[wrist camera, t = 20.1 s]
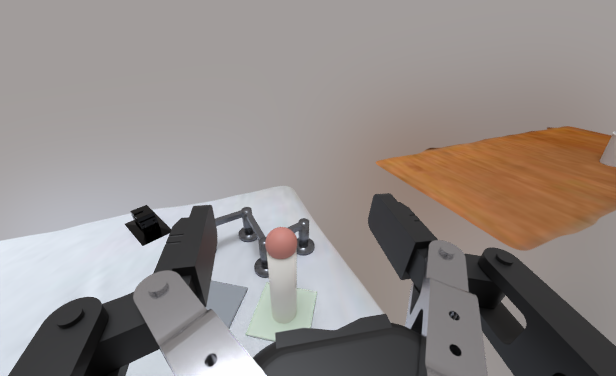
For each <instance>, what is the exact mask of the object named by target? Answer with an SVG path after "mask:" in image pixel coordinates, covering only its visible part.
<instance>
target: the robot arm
mask: <svg viewBox="0 0 616 376" xmlns="http://www.w3.org/2000/svg"><path fill="white" fill-rule="evenodd" d="M368 224H369V228H370V230H371V231H372V233H373V235H374V236H375V238H376V240H377V241H378V243H379V245H380V246H381V248H382V250H383V251H384V253H385V254H386V256H387V258H388V259H389V261H390V263H391V264H392V266H393V268H394V269H395V271H396V273H397V274H398V276H399V278H400V279H401V280H405V279H411V280H412V281H413V283H412V286H411V291H410V298H409V305H408V312H407V319H406V324H405V326H402V325H399V324H394V323H390V321H389V319H388V317H387V315H386V314H382V315H376V316H370V317H364V318H360V319H358V320H356V321H354V322H352V323H350V324H348V325H346V326H344V327H342V328H340V329H338V330H323V329H313V328H299V329H294V330H288V331H282V332H276V333H275V342H274V343H272V344H270V345H268V346H267V347H265V348H264V349H262V350H261V351H260V352H259V353H258V354H256V355H255V356H254V357H253V358H252V357H251V356H250V355H249V353H248V352H247V351H246V350H245V348H244V347H243V346H242V345H241V343H240V342H239V341H238V340H237V339H236V337H235V336H234V335H233V334H232V332H231V331H230V330H229V329H228V327H227V326H226V325H225V324H224V323H223V321H222V320H221V319H220V318H219V316H218V315H217V314H216V313H215V312H214V311H213V310H212V309H209V310H207V309H206V308H205V307H207V301H208V295H209V289H210V282H211V276H212V270H213V264H214V258H215V252H216V246H217V229H216V224H215V219H214V213H213V208H212V206H211V205H202V206H193V208H192V211H191V214H190V217H189V218H181V219H180V220H179V221H178V222H177V223H176V224H175V225H174V226H173V227H172V230H171V232H170V234H169V237H168V239H167V242H166V245H165V247H164V249H163V251H162V254H161V256H160V259H159V261H158V264H157V266H156V268H155V271H154V273H153V274H152V275H150V276H148V277H147V278H145V279H144V280H143V281H142V282H141V283H140V284H139V285H138V286H137V287H136V289H135V291H134V292H132V293H131V294H128V295H126V296H123V297H120V298H117V299H115V300H112V301H109V302H106V303H104V304H102V303H101V302H100V300H98V299H97V298H94V297H83V298H79V299H76V300H73V301H71V302H68V303H66V304H65V305H63V306H61V307H60V308H58V309H57V310H55V311H54V312H53V313H52V314H51V315H49V316H48V317H47V319H46V320H45V321H44V322H43V324H42V325H41V327H40V328H39V330H38V331H37V333H36V334H35V336H34V337H33V339H32V340H31V342H30V343H29V345H28V346H27V348H26V349H25V351H24V352H23V354H22V355H21V357H20V358H19V360H18V361H17V363H16V365H15V366H14V368H13V369H12V371H11V372H10V374H9V375H8V376H125V375H126V372H127V369H128V366H129V363H131V362H133V361H135V360H137V359H139V358H141V357H144V356H146V355H148V354H150V353H152V352H154V351H156V350H158V349H160V350H161V352H162V354H163V356H164V358H165V359H166V361H167V363H168V365H169V367H170V368H171V370H172V372H173V374H174V376H488V374H487V367H486V358H485V351H484V343H483V335H482V331H483V333H484V334H485V336H486V337H487V338H488V340H489V341H490V343H491V344H492V345H493V347H494V348H495V350H496V351H497V352H498V354H499V355H500V357H501V358H502V359H503V361H504V362H505V363H506V365H507V366H508V368H509V369H510V370H511V372H512V373H513V375H514V376H616V346H615V345H614V344H612V343H611V342H610V341H609V340H608V339H607V338H606V337H605V336H604V335H602V334H601V333H600V332H599V331H598V330H597V329H596V328H595V327H593V326H592V325H591V324H590V323H589V322H588V321H587V320H586V319H585V318H583V317H582V316H581V315H580V314H579V313H578V312H577V311H576V310H574V309H573V308H572V307H571V306H570V305H569V304H568V303H567V302H566V301H564V300H563V299H562V298H561V297H560V296H559V295H558V294H557V293H556V292H554V291H553V290H552V289H551V288H550V287H549V286H548V285H547V284H546V283H544V282H543V281H542V280H541V279H540V278H539V277H538V276H537V275H535V274H534V273H533V272H532V271H531V270H530V269H529V268H528V267H527V266H526V265H524V264H523V263H522V262H521V261H520V260H519V259H518V258H516V257H515V256H514V255H512V254H510V253H509V252H507V251H504V250H501V249H498V248H487V249H485V250H484V252H483V254H482V256H477V255H470V254H464V253H463V252H462V251H461V249H459V248H458V247H457V246H455V245H453V244H451V243H449V242H446V241H443V240H438V239H437V238H436V237H435V236H434V235H433V234H432V233H431V232H430V231H429V229H428V228H427V227H426V226H425V225H424V224H423V223H422V222H421V221H420V220H419V218H418V217H417V216H415V214H414V213H413V212H412V211H411V210H410V208H409V207H407V206H405V205H404V204H402V203H401V202H397V200H396V199H395V198H394V197H393V196H392V195H391V194H389V193H388V194H375V195H374V197H373V201H372V204H371V209H370V213H369V217H368ZM505 295H506V296H507V297H508V298H509V299H510V300H511V302H513V304H514V305H515V306H516V307H517V308H518V309H519V310H520V311H521V313H522V314H523V315H524V317H525V319H526V322H527V326H526V328H525V329H524V328H523V327H522V326H521V324H520V323H519V322H518V321H517V320H516V319H515V317H514V316H513V315H512V314H511V313H510V312H509V311H508V309H507V308H506V307H505V306H504V305H503V304H502V303H501V300H502V299H503V298H504V297H505Z"/></svg>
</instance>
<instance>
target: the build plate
mask: <svg viewBox="0 0 616 376" xmlns="http://www.w3.org/2000/svg"><path fill="white" fill-rule="evenodd" d="M131 214H132V217H133V219H134V220H133V221H131V222H128V223H126V224H125V225H126V226H127V228H128V229H129V230H130V231H131V232H132V234H133V235H134V236H135V237H136V238H137V240H138V241H139V242H140V243H141V245H142V246H144V245H146V244H148V243H150V242H152V241H154V240H156V239H158V238H161V237H163V236H165V235H167V234H169V233H170V232H171V229H170V228H169V227H168V226H167V225H166V224H165V223H164V222H163V221H162V220H161V219H160V218H159V217H158V216H157V215H156V214H155V213H154V212H153V211H152V210H151V209H150V208H149V207H148V206H147V205H145V206H143V207H140V208H137V209H135V210H132V211H131Z"/></svg>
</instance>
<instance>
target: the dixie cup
mask: <svg viewBox="0 0 616 376" xmlns="http://www.w3.org/2000/svg"><path fill="white" fill-rule="evenodd" d="M612 134H613V135H612V137H611V139H610V141H609V143H608V145H607V147H606V149H605V151H604V153H603V155H602V157H601V159H600V162H601V163H603V164H605V165H609V166H613V167H616V132H613V133H612Z"/></svg>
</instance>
